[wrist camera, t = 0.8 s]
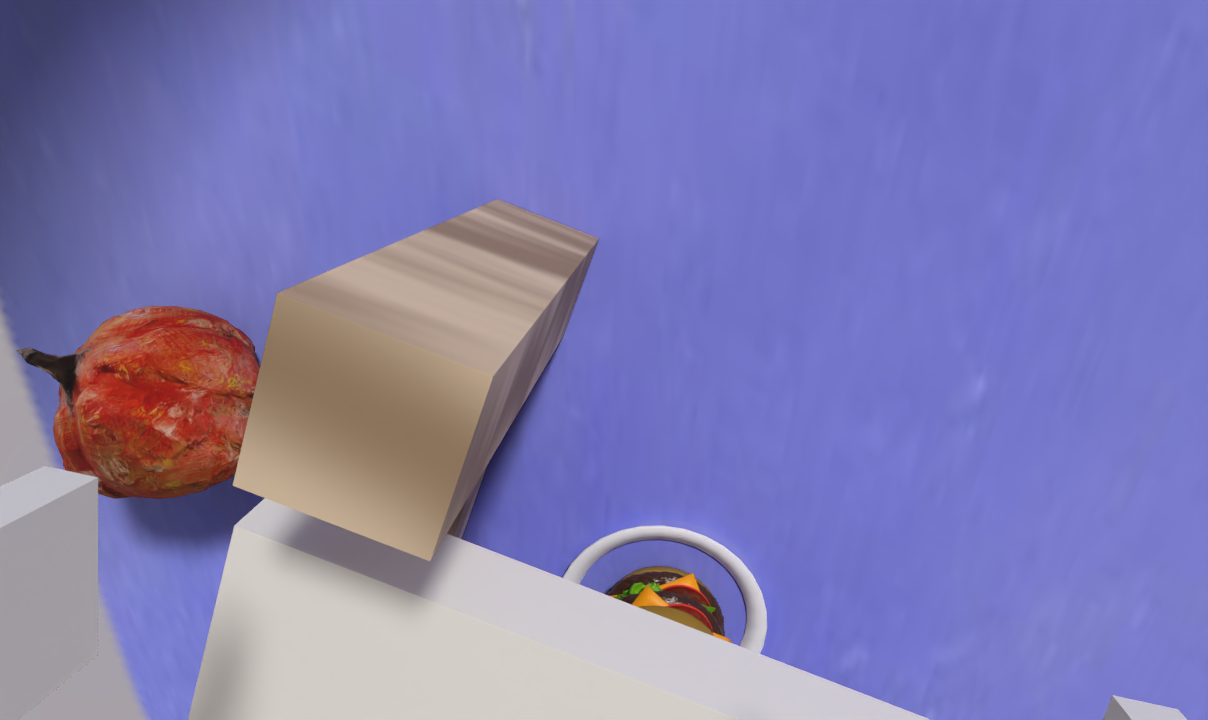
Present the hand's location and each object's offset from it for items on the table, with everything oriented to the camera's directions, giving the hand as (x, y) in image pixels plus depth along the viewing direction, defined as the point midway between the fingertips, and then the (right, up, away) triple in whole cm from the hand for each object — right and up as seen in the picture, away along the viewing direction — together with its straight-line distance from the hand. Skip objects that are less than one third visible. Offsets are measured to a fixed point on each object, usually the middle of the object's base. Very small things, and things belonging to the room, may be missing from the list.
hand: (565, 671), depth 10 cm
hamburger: (+3, -7, +24) cm, 25 cm away
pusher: (-5, +1, +21) cm, 22 cm away
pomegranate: (-15, +3, +22) cm, 27 cm away
